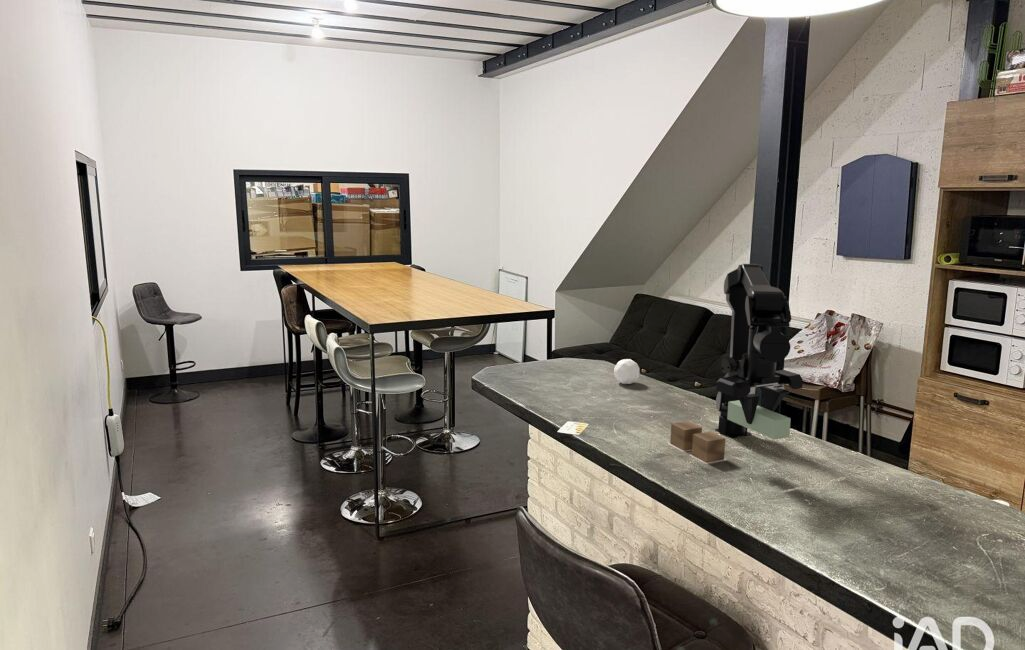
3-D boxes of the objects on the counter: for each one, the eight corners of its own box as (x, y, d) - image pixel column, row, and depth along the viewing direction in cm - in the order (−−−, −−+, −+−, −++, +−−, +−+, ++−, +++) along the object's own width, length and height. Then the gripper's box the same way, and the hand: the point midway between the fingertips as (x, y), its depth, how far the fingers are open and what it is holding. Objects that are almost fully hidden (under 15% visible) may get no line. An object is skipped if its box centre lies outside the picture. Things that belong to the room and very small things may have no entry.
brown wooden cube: (687, 440, 167) (688, 420, 166) (700, 447, 162) (702, 427, 161) (670, 443, 165) (671, 423, 164) (683, 450, 160) (684, 430, 159)
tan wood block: (709, 452, 160) (710, 431, 159) (724, 459, 155) (725, 438, 154) (691, 455, 158) (692, 434, 157) (706, 462, 153) (707, 441, 152)
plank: (741, 417, 154) (742, 399, 153) (789, 437, 142) (790, 418, 141) (727, 419, 153) (728, 401, 152) (774, 439, 140) (775, 420, 139)
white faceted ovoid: (614, 376, 213) (601, 371, 225) (634, 391, 215) (621, 385, 226) (628, 355, 213) (614, 351, 225) (648, 370, 215) (634, 365, 227)
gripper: (768, 339, 155) (763, 406, 158) (701, 346, 148) (697, 416, 150) (807, 349, 145) (801, 421, 148) (737, 357, 138) (732, 432, 140)
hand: (757, 422), depth 147 cm, fingers closed on plank, 4 cm apart
